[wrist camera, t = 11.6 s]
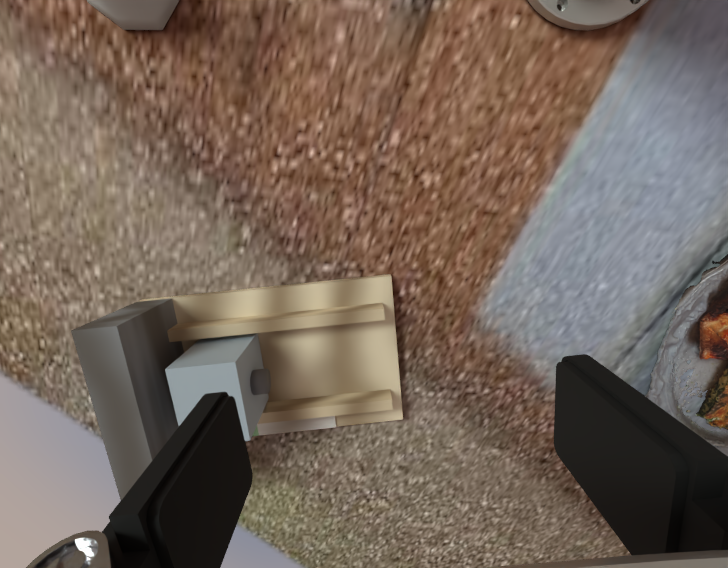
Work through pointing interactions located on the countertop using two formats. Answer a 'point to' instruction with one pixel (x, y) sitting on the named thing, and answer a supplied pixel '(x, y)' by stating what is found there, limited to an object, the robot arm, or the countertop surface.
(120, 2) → the flask
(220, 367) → the grey cube with peg
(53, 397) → the countertop surface
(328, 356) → the board
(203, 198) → the countertop surface
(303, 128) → the countertop surface
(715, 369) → the food plate
